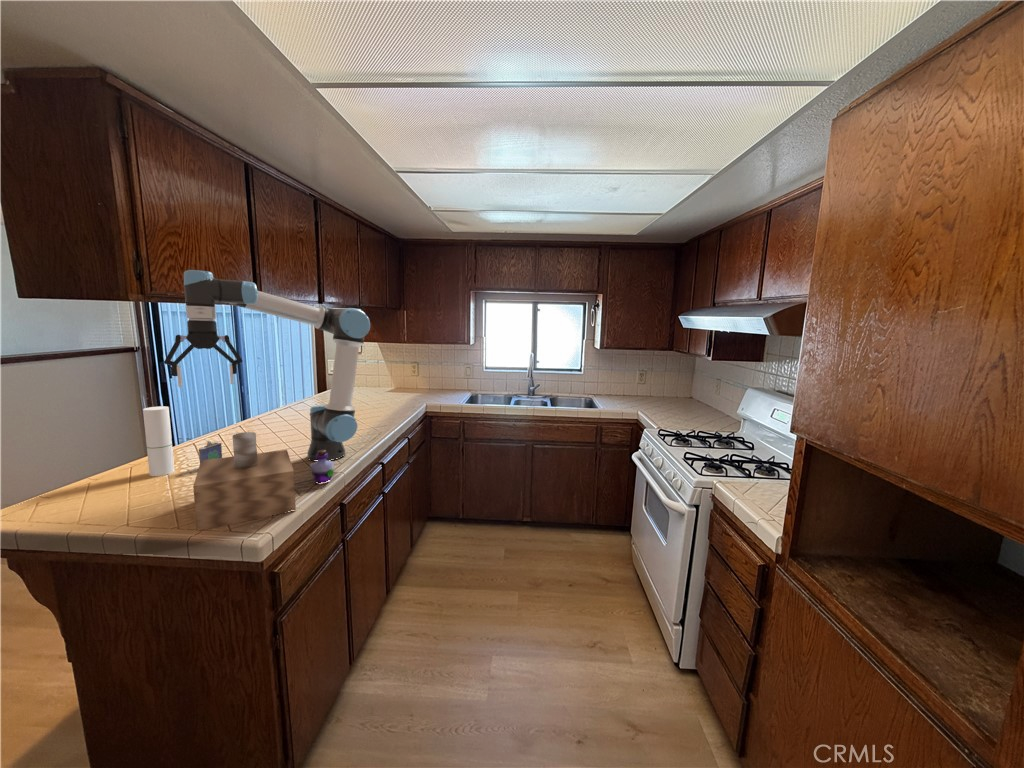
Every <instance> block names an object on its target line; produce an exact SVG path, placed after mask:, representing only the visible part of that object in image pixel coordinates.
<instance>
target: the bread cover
mask: <svg viewBox="0 0 1024 768" xmlns="http://www.w3.org/2000/svg"><path fill="white" fill-rule="evenodd" d="M232 447H233V448H232V449H233V456H227V457H222V458H217V459H209V460H201V463H200V462H199V467H198V470H197V473H196V476H195V480H194V483H193V499H194V512H195V513H194V514H195V523H196V531H197V532H198V531H204V530H208V529H213V528H218V527H219V528H220V527H223V526H228V525H229V526H230V525H233V524H237V523H243V522H247V521H248V520H249V521H253V519H254V520H257V519H258V518H259V519H264V518H269V517H273V516H272V515H274V516H277V515H276V514H279V515H282V514H281V513H284V514H286V513H285V512H288V511H291V510H297V509H296V491H295V490H296V488H295V471H294V467H293V465H292V461H291V458H290V455H289V452H288V450H287V449H282V450H274V451H266V452H258V450H257V449H258V448H257V433H256V432H253V431H252V432H251V431H247V432H237V433H236V434H232ZM268 516H269V517H268ZM259 519H258V520H259ZM203 529H204V530H203Z"/></svg>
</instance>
